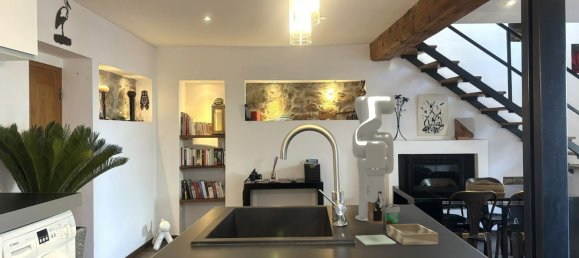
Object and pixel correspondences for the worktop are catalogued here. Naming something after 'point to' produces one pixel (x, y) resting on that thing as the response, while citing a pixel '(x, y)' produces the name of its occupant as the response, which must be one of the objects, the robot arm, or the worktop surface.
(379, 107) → the robot arm
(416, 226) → the access box
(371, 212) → the walnut block
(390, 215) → the food container
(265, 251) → the worktop surface
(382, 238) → the mat
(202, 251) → the worktop surface
